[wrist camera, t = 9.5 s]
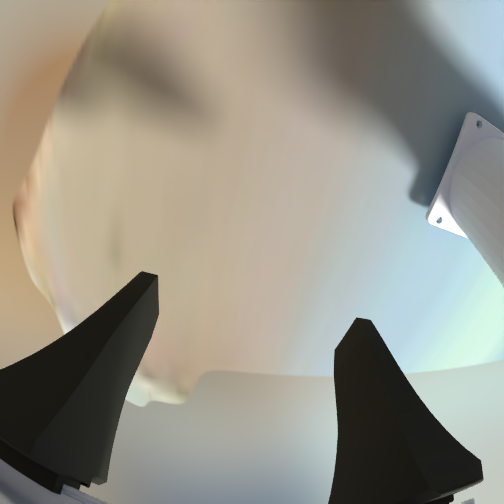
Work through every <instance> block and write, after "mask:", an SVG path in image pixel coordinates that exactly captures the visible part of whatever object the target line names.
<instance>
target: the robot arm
mask: <svg viewBox="0 0 504 504" xmlns="http://www.w3.org/2000/svg"><path fill="white" fill-rule="evenodd" d="M478 120H479V125H478V126H477V125H476V124H477V121H478ZM438 217H440V219H439V220H438V221H436V219H437V218H438ZM426 220H427V222H428V223H429V224H431V225H434V226H437V227H439V228H442V229H445V230H447V231H450V232H453V233H455V234H458V235H460V236H463V237H465V238H468V239H469V240H470V241H471V242H472V244H473V245H474V246H475V247H476V249H477V250H478V251H479V253H480V254H481V255H482V257H483V258H484V259H485V261H486V262H487V264H488V265H489V266H490V268H491V269H492V271H493V272H494V273H495V275H496V276H497V278H498V279H499V281H500V282H501V284H502V285H503V287H504V133H503V132H502V131H500V130H499V129H498V128H496V127H495V126H493V125H492V124H491V123H489V122H488V121H486V120H485V119H483V118H482V117H480V116H479V115H478V114H476V113H473V112H468V113H467V114H466V117H465V120H464V123H463V126H462V128H461V131H460V134H459V137H458V140H457V143H456V145H455V148H454V151H453V153H452V156H451V158H450V161H449V163H448V166H447V168H446V171H445V173H444V175H443V178H442V180H441V183H440V185H439V187H438V189H437V192H436V194H435V196H434V198H433V200H432V203H431V205H430V207H429V209H428V211H427V213H426ZM158 315H159V301H158V275H155V274H151V273H147V272H143V271H142V272H140V273H139V274H138V275H137V276H136V277H134V278H133V279H132V280H131V281H130V282H129V283H128V284H127V285H126V286H124V287H123V288H122V289H121V290H120V291H119V292H118V293H117V294H115V295H114V296H113V297H112V298H111V299H110V300H108V301H107V302H106V303H105V304H104V305H103V306H101V307H100V308H99V309H98V310H97V311H95V312H94V313H93V314H92V315H90V316H89V317H88V318H87V319H85V320H84V321H83V322H81V323H80V324H79V325H78V326H76V327H75V328H73V329H72V330H71V331H69V332H68V333H66V334H65V335H63V336H62V337H60V338H59V339H57V340H56V341H54V342H53V343H51V344H50V345H48V346H46V347H44V348H43V349H41V350H40V351H38V352H36V353H34V354H32V355H30V356H28V357H26V358H24V359H22V360H20V361H18V362H16V363H15V364H12V365H10V366H8V367H6V368H3V369H0V504H110V503H107V502H105V501H102V500H100V499H97V498H95V497H92V496H90V495H88V494H86V493H83V492H81V491H79V488H80V485H84V486H86V487H88V488H89V487H90V484H91V482H93V483H95V484H97V485H100V484H103V483H105V482H107V476H108V469H109V463H110V457H111V452H112V447H113V443H114V438H115V433H116V430H117V426H118V422H119V418H120V414H121V411H122V407H123V404H124V401H125V397H126V394H127V392H128V389H129V386H130V384H131V382H132V379H133V377H134V375H135V373H136V370H137V368H138V366H139V364H140V361H141V359H142V357H143V355H144V353H145V350H146V348H147V346H148V344H149V342H150V339H151V337H152V334H153V331H154V328H155V325H156V322H157V318H158ZM334 382H335V394H336V407H337V420H338V440H337V454H336V464H335V472H334V478H333V483H332V489H331V495H330V498H329V502H328V504H449V503H450V502H453V500H454V496H453V494H455V493H457V492H460V491H462V490H465V489H467V488H469V487H472V486H474V485H476V484H478V483H480V482H482V481H483V471H482V464H481V460H480V459H478V458H477V457H476V456H475V455H473V454H472V453H471V452H470V451H468V450H467V449H466V448H465V447H463V446H462V445H461V444H460V443H459V442H458V441H457V440H456V439H455V438H454V437H453V436H452V435H451V434H450V433H449V432H448V431H447V430H446V429H445V428H444V427H443V426H442V425H441V424H440V422H439V421H438V420H437V419H436V418H435V417H434V416H433V414H432V413H431V412H430V411H429V409H428V408H427V407H426V405H425V404H424V403H423V402H422V400H421V399H420V398H419V396H418V395H417V393H416V392H415V390H414V389H413V387H412V386H411V384H410V383H409V381H408V380H407V378H406V377H405V375H404V374H403V372H402V371H401V369H400V367H399V366H398V364H397V362H396V361H395V359H394V358H393V356H392V354H391V352H390V351H389V349H388V347H387V346H386V344H385V342H384V341H383V339H382V337H381V336H380V334H379V332H378V331H377V329H376V328H375V326H374V324H373V323H372V321H371V320H368V319H362V318H356V319H355V320H354V322H353V324H352V325H351V327H350V328H349V330H348V331H347V333H346V334H345V336H344V337H343V339H342V340H341V342H340V343H339V344H338V346H337V347H336V349H335V354H334ZM459 504H474V499H473V498H472V499H469V500H467V501H464V502H461V503H459Z"/></svg>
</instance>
